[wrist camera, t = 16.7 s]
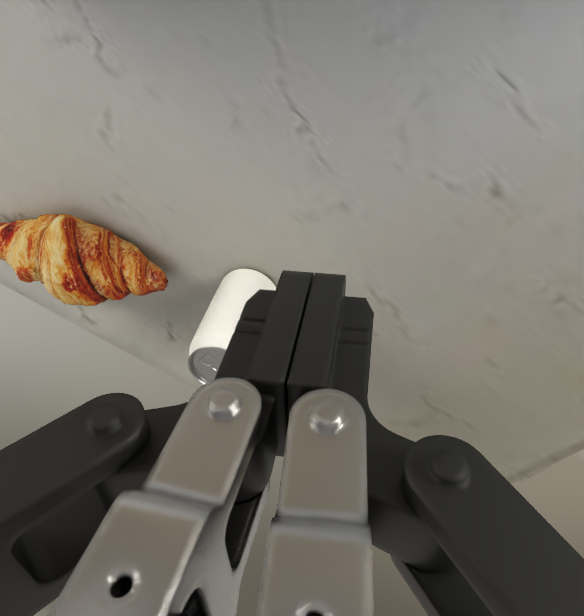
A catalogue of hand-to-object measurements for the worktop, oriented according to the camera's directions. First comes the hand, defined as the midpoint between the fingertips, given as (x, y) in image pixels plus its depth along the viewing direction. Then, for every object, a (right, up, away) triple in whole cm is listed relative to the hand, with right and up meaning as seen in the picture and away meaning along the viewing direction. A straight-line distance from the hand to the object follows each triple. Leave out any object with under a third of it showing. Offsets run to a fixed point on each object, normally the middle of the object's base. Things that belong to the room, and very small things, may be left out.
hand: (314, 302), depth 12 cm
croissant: (-24, +7, +41) cm, 48 cm away
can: (-5, +2, +41) cm, 41 cm away
